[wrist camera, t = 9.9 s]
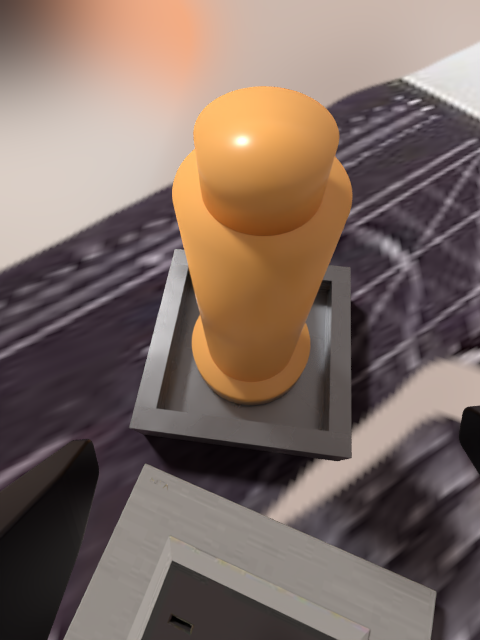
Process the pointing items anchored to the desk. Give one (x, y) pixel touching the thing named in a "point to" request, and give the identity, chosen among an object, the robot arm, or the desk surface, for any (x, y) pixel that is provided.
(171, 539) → the electrical outlet
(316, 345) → the gray square tray
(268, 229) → the orange game pawn
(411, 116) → the desk surface
